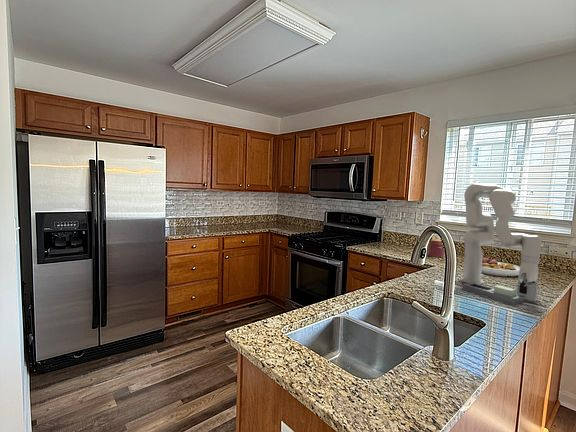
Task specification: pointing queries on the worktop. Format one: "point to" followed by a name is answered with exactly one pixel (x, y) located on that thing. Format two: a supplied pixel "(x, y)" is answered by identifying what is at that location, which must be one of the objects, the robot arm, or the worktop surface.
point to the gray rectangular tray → (492, 293)
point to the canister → (435, 248)
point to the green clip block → (505, 291)
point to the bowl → (499, 268)
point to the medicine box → (529, 291)
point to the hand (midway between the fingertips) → (527, 292)
